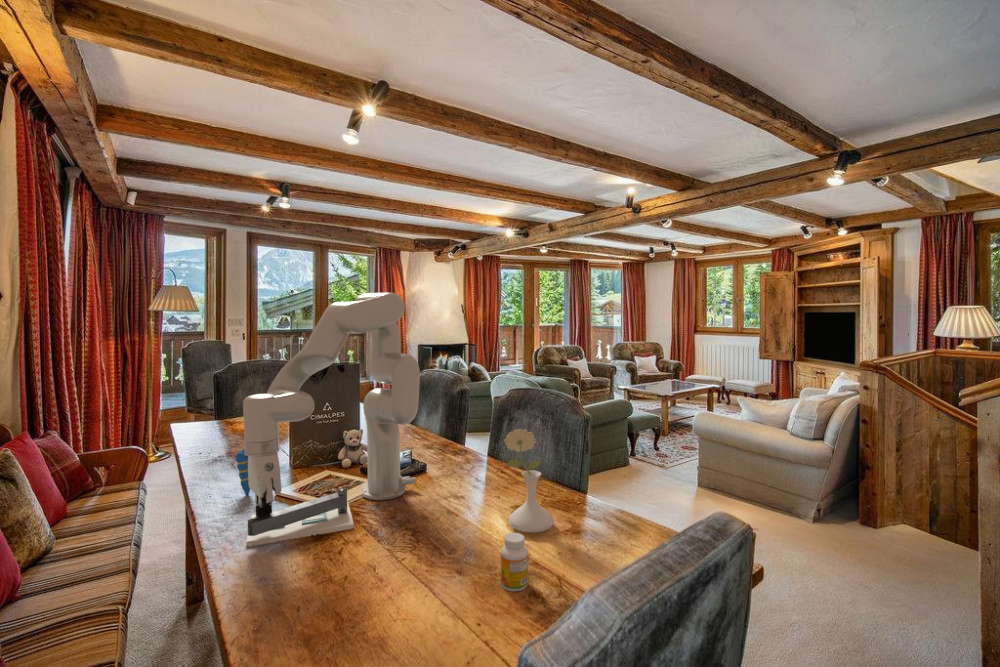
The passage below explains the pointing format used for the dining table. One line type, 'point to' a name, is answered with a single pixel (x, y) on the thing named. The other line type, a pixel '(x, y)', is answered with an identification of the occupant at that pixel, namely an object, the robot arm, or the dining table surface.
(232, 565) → the dining table surface
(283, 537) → the label board
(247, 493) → the ornament
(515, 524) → the flower in vase
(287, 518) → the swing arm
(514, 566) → the supplement bottle
